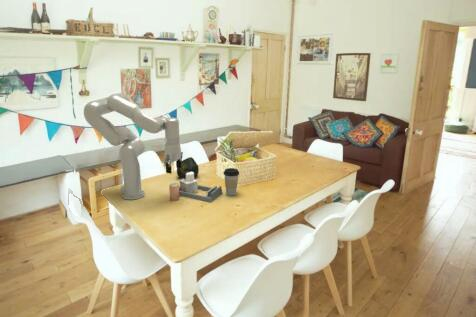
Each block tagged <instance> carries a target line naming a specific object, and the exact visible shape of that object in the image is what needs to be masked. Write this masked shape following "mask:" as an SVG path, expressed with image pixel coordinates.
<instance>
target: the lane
mask: <svg viewBox="0 0 476 317" xmlns="http://www.w3.org/2000/svg"><path fill="white" fill-rule="evenodd" d="M211 188H212V187H210V186H206V185H201V184H198V191H199V190H200V191H205V192H207V191H209V190H210V189H211ZM222 194H223V189H222V185H220V186H217V189H215V190H214V191H213V192H211V193H210V197H207V195H206V196H205V195H203V194H201V195H200V194H197V193H193V194H192V193H187V192H183V191H180V185H179V195H180V197H185V198H189V199H194V200H199V201H203V202H206V203H207V202H208V203H212V202H213V201H215V200H216V199H217V198H218V197H220V196H221V195H222Z"/></svg>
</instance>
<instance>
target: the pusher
mask: <svg viewBox="0 0 476 317" xmlns="http://www.w3.org/2000/svg"><path fill="white" fill-rule="evenodd" d="M217 188H218V185H214V186H213V187H211V189H210V190H209V191H205V192H206V197H210V193H211V192H213V191H214V190H215V189H217Z"/></svg>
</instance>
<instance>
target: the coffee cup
mask: <svg viewBox="0 0 476 317" xmlns="http://www.w3.org/2000/svg"><path fill="white" fill-rule="evenodd" d="M222 173H223V175H224V186H225V193H226V196H229V197H233V196H236V195H237V190H238V189H237V188H238V183H239V182H238V181H239V175H240V171H239V170H238V168H233V167H232V168H231V167H229V168H225V169H224V171H223V172H222Z"/></svg>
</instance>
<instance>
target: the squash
mask: <svg viewBox="0 0 476 317" xmlns="http://www.w3.org/2000/svg"><path fill="white" fill-rule="evenodd" d="M181 165H182V168H177V167H176V174H177V177H178V178H180V179H183V172H185V171H193V172H194V179H195V178H197V177H198V176H199V171H200V170H199V169H200V168H199V165H198V164H197V162H196V161H195V159H194V158H193V157H192V156H189V157H187V158H185V159H182V161H181Z"/></svg>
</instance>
